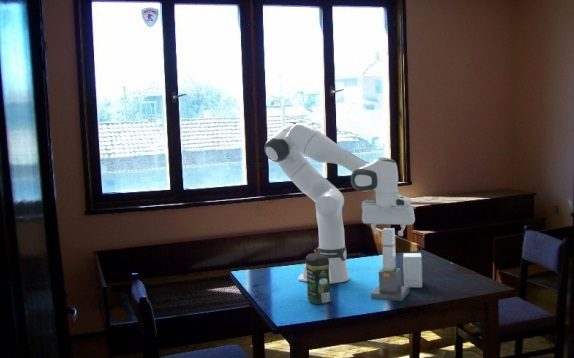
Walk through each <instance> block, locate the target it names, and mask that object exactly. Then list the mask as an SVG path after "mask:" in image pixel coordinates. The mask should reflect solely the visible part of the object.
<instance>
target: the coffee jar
mask: <svg viewBox="0 0 574 358" xmlns="http://www.w3.org/2000/svg"><path fill="white" fill-rule="evenodd" d="M305 264H306V269H307V282H306V287H307V290H306V291H307V292H306V293H307V294H306V295H307V296H306V297H307V300H308V302H310V303H311V304H313V305H326V304H328V303H330V302H332V296H331V295H332V294H331V284H330V282H329V259H328V257H326V256H324V255H321V254H318V253H316V252H315V253H308V254H307V255H306V256H305Z"/></svg>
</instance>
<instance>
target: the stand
mask: <svg viewBox="0 0 574 358" xmlns="http://www.w3.org/2000/svg"><path fill="white" fill-rule="evenodd" d="M401 270H402V269H401V268H397V267H396V271H395V272H385V271H383V267H382V269H380V270H379V271H378V286H376V288H375V289H374V290H372V292H370V298H371V299H373V300H374V299H375V300H386V301H387V300H388V301H397V302H402V301H404V299H405V298H406V296H408V295H409V293H410V291H411V290H410V287H404V286H402V271H401Z"/></svg>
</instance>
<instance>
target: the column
mask: <svg viewBox="0 0 574 358" xmlns="http://www.w3.org/2000/svg"><path fill="white" fill-rule="evenodd" d="M381 244H382V245H381V247H382V250H381V251H382V268H383V271H385V272H395V271H396V268H397V258H396V257H397V255H396V230H395V227H392V228H391V227H384V228H382V229H381Z"/></svg>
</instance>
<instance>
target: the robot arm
mask: <svg viewBox="0 0 574 358" xmlns="http://www.w3.org/2000/svg"><path fill="white" fill-rule="evenodd" d="M263 147H264V148H263V149H264V153H265V156H266V157H267V158H268V159H269V160H270V161H272V162H274V163H277V164H278V166H279V167H280V169H281V170H282V171H283V173H284V174H285V175H286V177H288V178H289V179H290V180H291V182H292V183H293V184H294V185H295V186H296V187H297V188H298V190H299V191H300V192H302V194H304V195H306V196H307V197H308V198H309V199H311V200H312V201H314V203H315V214H316V215H315V216H316V222H317V228H318V246H317V247H316V248H315V249H313V251H314V253H318V254H321V255H324V256H326V257H328V259H329V282H330V285H331V284H338V283H344V282H347V281H349V280H350V279H351V276H350V274H349V270H348V265H347V248H346V247H347V246H346V245H345V244H346V242H345V228H344V219H343V208H344V204H345V197H344V195H343V193H342V192H341V191H340V190H339V189H338V188H337V187H336V186H335V185H334V184H332V183H331V182H330V181H329V180H328V179H327V178H326V177H324V176H323V175H322V174H321V173H320V172H319V171H318V170H317V169H316V167H314V166H313V165H312V163H311V162H310V161H309V160H308V159H311V160H313V161H315V162H317V163H326V164H328V163H329V164H336V165H339V166H342V167H343V168H345V169H346V170H348V171H350V172H351V175H350V183H351V186H352V188H353V189H354V190H356V191H358V192H364V193H365V192H368V191H375V199H365V200H363V201H362V202H361V210H362V211H361V212H362V214H361V221H362V223H363V224H370V227H371V228H372V230H373V235H374V236H379V235H380V229H377V227H376V226H377V225H400V228H401V229H400V230H398V231H397V236H398V237H403V236H404V230H405V229H406V226H411V225H414V223H415V221H416V217H415V211H414V207H413V205H412V204H411V203H412V199H411V198H410V197H407V196H404V195H401V194H400V193H399V192H400V191H399V187H398V183H399V171H398V165H397V162H396V161H395V159H392V158H388V157H377V158H376V159H374V160H373V161H371V162H368V161H365V160H364V159H361V158H360V157H358V156H357V155H355V154H353V153H352V152H350V151H348V150H347V149H345V148H343V147H342V146H340V145H339V144H338V143H336V142H335V141H333V140H332V139H331V138H330V137H328V136H327V135H326V134H324V133H322V132H321V131H319V130H318V129H315V128H314V127H313V126H310V125H309V124H305V123H304V122H303V121H301V120H298V119H297V120H295V119H294V120H292V121H289V122H288V123H287V124H285V125H284V126H283V127H281V128H280V129H279V130H278V131H277V132H276V133H275V134H274V135H272V136H271V138H269V139H268V140H266V142H265V144H264V146H263ZM303 154H304V155H305V156H306V157H308V159H307V158H306V157H304V155H303ZM302 272H303V273H300V275H299V276H298V281H300V282H306V283H307V269H306V263H305V265H304V267H303V271H302Z"/></svg>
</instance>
